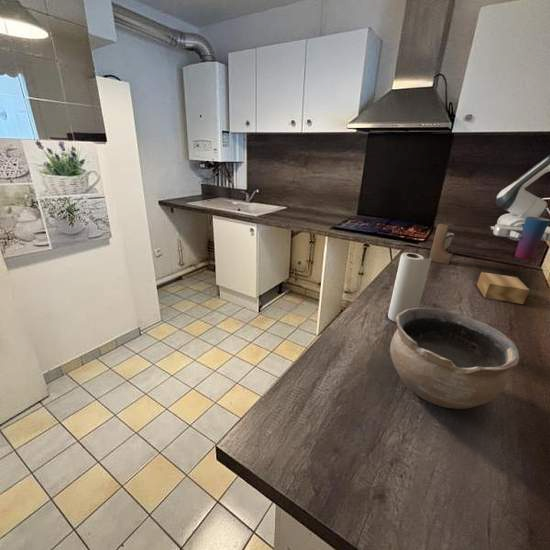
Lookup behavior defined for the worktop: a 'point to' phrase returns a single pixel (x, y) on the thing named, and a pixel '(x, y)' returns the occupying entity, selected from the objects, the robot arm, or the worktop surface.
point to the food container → (448, 241)
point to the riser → (502, 288)
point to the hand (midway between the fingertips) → (531, 237)
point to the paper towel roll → (408, 283)
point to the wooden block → (440, 246)
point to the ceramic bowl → (451, 357)
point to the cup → (531, 236)
